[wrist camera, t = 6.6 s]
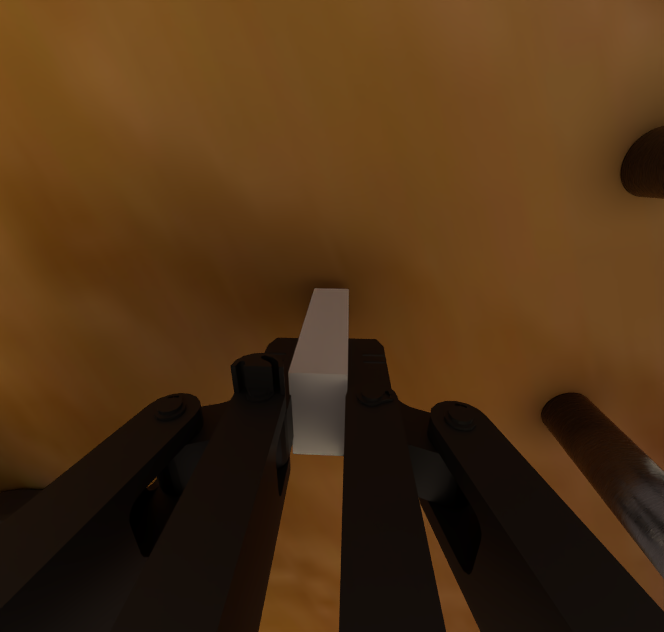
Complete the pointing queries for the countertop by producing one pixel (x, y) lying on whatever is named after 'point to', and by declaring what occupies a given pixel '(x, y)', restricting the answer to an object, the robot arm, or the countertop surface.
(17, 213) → the countertop surface
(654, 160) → the post
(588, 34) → the countertop surface
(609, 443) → the post
